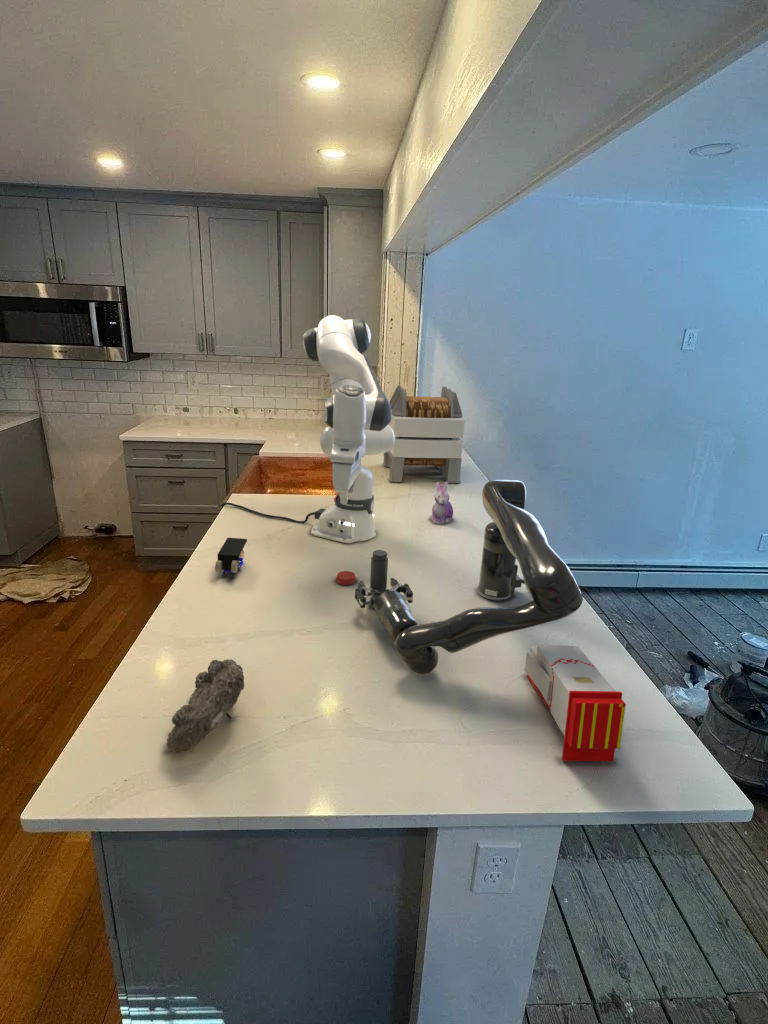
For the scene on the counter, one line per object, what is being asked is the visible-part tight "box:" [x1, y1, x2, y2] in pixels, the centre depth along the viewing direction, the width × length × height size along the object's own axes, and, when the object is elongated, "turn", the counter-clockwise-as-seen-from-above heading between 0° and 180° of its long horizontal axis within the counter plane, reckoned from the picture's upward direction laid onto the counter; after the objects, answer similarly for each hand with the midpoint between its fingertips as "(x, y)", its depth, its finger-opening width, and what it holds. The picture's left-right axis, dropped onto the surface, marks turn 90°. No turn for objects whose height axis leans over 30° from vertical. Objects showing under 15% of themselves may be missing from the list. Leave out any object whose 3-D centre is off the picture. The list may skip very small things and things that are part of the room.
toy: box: [524, 644, 626, 762], centre depth 112 cm, size 12×13×30 cm
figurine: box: [430, 480, 454, 525], centre depth 212 cm, size 9×10×15 cm
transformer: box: [383, 384, 465, 484], centre depth 268 cm, size 34×33×41 cm
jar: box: [368, 549, 389, 610], centre depth 149 cm, size 4×4×15 cm
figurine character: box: [214, 537, 248, 578], centre depth 166 cm, size 7×8×15 cm
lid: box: [335, 570, 357, 586], centre depth 164 cm, size 6×6×2 cm
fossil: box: [166, 658, 245, 754], centre depth 106 cm, size 22×10×15 cm
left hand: (347, 497), depth 156 cm, fingers open, 8 cm apart
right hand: (376, 582), depth 151 cm, fingers open, 8 cm apart
